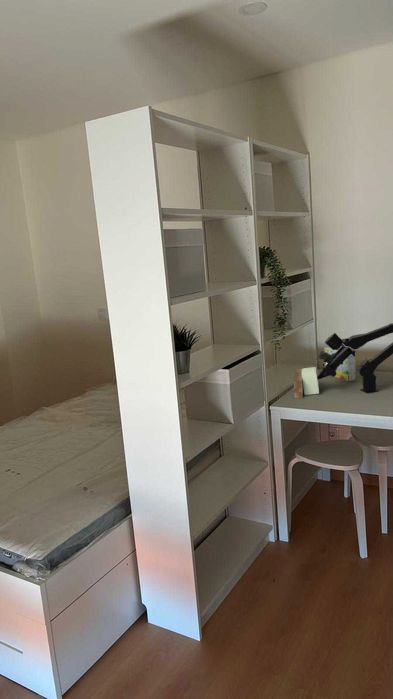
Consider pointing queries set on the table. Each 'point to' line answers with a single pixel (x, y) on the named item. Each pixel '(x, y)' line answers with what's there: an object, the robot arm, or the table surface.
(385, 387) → the table surface
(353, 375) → the snack box
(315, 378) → the green block
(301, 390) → the backstop board
